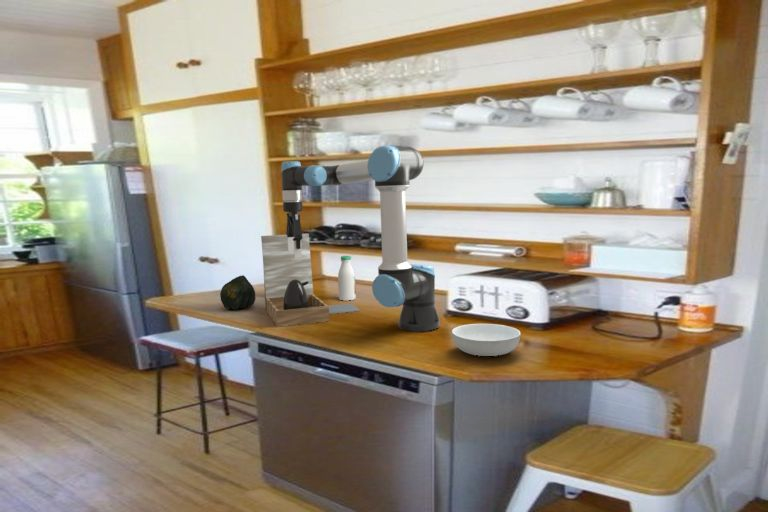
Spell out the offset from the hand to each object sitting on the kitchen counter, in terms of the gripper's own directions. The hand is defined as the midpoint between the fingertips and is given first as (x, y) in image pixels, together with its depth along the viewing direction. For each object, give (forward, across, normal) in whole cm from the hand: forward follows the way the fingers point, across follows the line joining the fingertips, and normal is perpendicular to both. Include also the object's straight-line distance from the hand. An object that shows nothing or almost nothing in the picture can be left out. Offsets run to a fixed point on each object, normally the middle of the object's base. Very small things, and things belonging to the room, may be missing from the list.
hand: (294, 255), depth 222 cm
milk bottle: (+25, +23, -28) cm, 44 cm away
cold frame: (+25, +3, 0) cm, 25 cm away
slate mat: (+25, +5, -19) cm, 31 cm away
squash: (+25, +26, +20) cm, 42 cm away
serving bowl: (+25, -72, -44) cm, 88 cm away
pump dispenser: (+25, 0, 0) cm, 25 cm away
